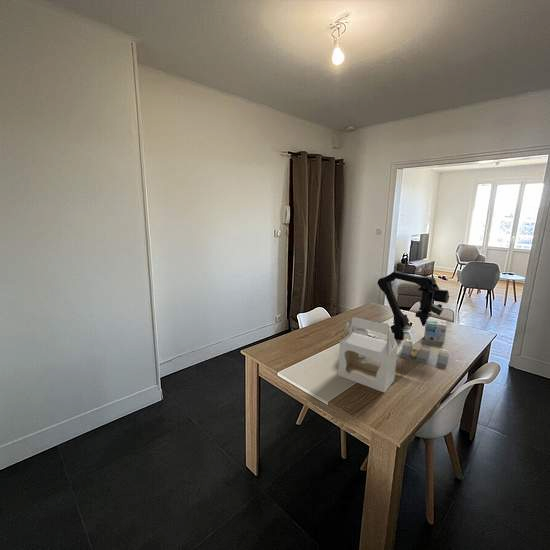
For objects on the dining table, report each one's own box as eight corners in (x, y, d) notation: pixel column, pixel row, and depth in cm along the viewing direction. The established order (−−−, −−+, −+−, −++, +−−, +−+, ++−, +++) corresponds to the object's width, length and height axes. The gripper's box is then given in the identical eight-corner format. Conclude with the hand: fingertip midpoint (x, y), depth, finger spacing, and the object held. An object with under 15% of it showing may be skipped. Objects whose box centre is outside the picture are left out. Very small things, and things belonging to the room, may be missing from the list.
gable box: (395, 380, 135) (400, 322, 129) (385, 393, 124) (391, 331, 119) (349, 364, 148) (352, 311, 143) (337, 375, 138) (340, 318, 132)
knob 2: (436, 361, 148) (438, 351, 147) (438, 358, 152) (439, 348, 150) (446, 364, 146) (448, 353, 144) (448, 361, 149) (449, 350, 148)
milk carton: (366, 353, 161) (369, 320, 157) (366, 358, 154) (368, 324, 150) (353, 351, 163) (355, 318, 159) (352, 356, 156) (354, 322, 152)
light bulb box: (424, 339, 178) (426, 323, 176) (423, 335, 184) (425, 319, 182) (444, 342, 174) (447, 325, 172) (443, 338, 180) (445, 321, 178)
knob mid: (418, 356, 153) (419, 346, 152) (420, 353, 157) (421, 343, 156) (427, 359, 151) (429, 349, 150) (429, 356, 154) (430, 346, 153)
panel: (396, 357, 156) (397, 348, 155) (402, 348, 166) (403, 340, 165) (448, 371, 142) (449, 362, 141) (451, 361, 152) (453, 352, 151)
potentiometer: (409, 358, 153) (410, 350, 152) (411, 356, 155) (411, 348, 154) (415, 359, 151) (416, 352, 150) (417, 357, 153) (418, 350, 153)
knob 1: (401, 352, 158) (402, 342, 157) (403, 349, 162) (404, 339, 161) (410, 354, 156) (411, 344, 155) (412, 351, 159) (413, 341, 158)
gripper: (440, 306, 151) (436, 334, 155) (445, 298, 166) (442, 324, 169) (416, 302, 158) (413, 329, 161) (424, 294, 173) (421, 320, 176)
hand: (423, 325), depth 167 cm, fingers closed
